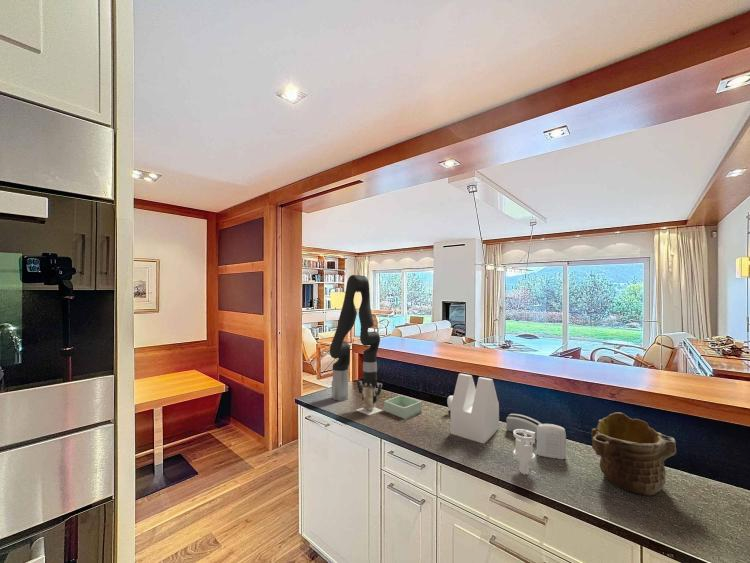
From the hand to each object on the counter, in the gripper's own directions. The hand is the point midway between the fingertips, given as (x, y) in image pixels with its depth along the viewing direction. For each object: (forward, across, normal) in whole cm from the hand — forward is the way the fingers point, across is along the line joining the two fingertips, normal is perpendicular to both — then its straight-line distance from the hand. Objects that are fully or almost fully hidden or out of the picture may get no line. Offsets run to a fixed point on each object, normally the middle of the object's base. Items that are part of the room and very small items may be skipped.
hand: (369, 401), depth 173 cm
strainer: (+5, +72, -34) cm, 79 cm away
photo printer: (+5, +83, -18) cm, 85 cm away
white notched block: (+5, +54, -5) cm, 54 cm away
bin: (+5, +17, +5) cm, 18 cm away
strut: (+3, 0, 0) cm, 3 cm away
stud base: (+5, 0, 0) cm, 5 cm away
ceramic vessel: (+4, +104, -29) cm, 108 cm away
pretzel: (+5, +44, +14) cm, 46 cm away
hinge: (+5, +75, -2) cm, 75 cm away
